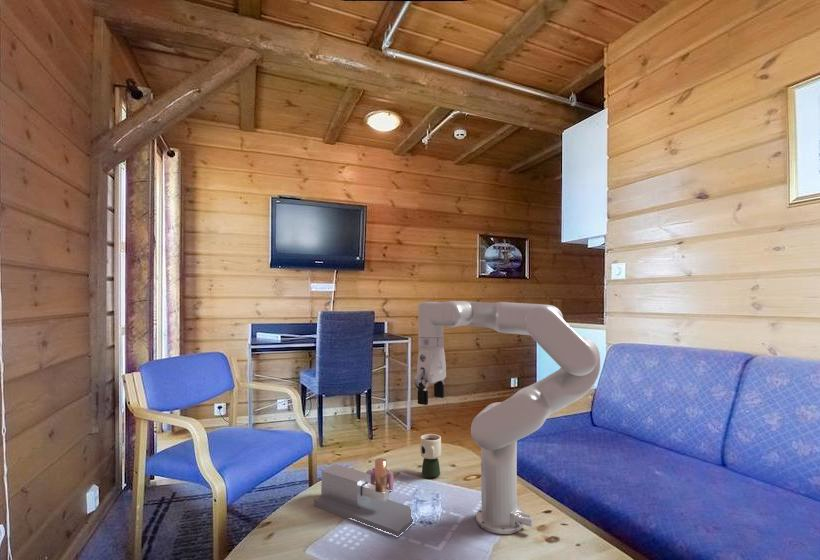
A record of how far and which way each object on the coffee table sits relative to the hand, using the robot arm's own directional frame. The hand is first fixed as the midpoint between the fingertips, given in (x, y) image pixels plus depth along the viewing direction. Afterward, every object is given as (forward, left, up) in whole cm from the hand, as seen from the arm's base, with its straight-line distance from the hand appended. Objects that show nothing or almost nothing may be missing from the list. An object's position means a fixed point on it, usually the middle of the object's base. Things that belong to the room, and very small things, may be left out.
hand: (431, 400), depth 120 cm
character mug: (+10, -17, -31) cm, 36 cm away
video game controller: (+20, 0, -31) cm, 36 cm away
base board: (+14, +13, -30) cm, 36 cm away
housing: (+22, +13, -29) cm, 38 cm away
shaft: (+17, +13, -26) cm, 33 cm away
